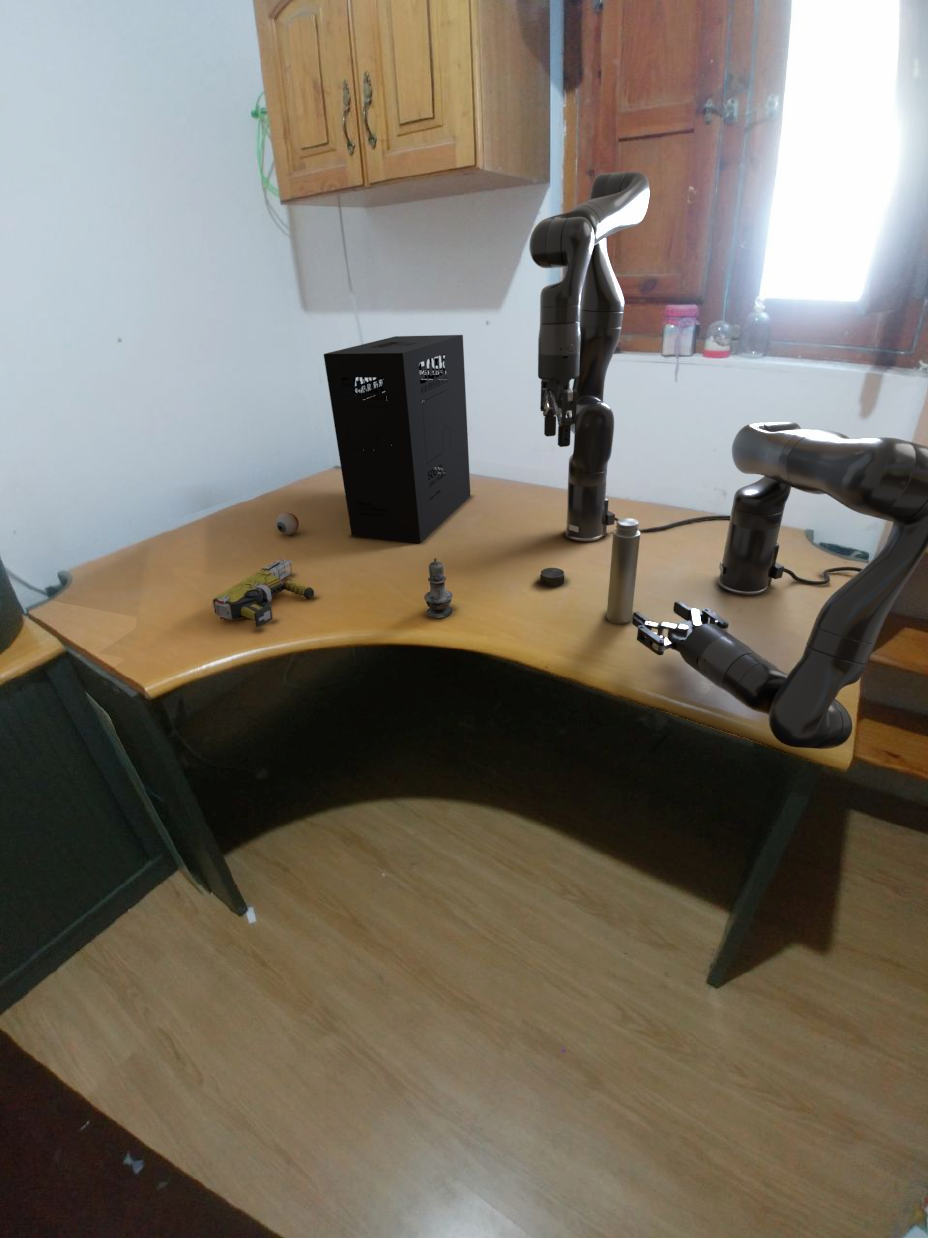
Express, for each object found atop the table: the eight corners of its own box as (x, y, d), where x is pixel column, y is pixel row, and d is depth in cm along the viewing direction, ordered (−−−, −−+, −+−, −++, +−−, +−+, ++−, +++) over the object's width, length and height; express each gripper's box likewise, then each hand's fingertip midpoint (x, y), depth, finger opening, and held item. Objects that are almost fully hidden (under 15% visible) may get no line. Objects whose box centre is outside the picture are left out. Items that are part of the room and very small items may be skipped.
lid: (535, 581, 133) (535, 572, 132) (552, 574, 136) (553, 565, 134) (551, 589, 129) (551, 580, 128) (569, 582, 132) (569, 573, 131)
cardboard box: (410, 491, 192) (395, 336, 169) (470, 495, 185) (462, 334, 162) (351, 535, 161) (323, 353, 139) (420, 542, 155) (402, 352, 132)
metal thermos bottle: (608, 610, 120) (616, 516, 110) (633, 613, 119) (643, 518, 109) (604, 621, 117) (611, 525, 107) (629, 625, 115) (639, 527, 105)
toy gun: (334, 567, 137) (277, 555, 141) (271, 613, 117) (207, 598, 121) (335, 586, 139) (279, 574, 143) (273, 634, 119) (211, 619, 123)
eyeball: (273, 537, 164) (268, 516, 161) (287, 528, 169) (282, 508, 166) (291, 539, 161) (286, 518, 158) (305, 530, 166) (301, 510, 163)
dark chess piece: (450, 619, 120) (446, 564, 114) (422, 617, 121) (416, 563, 115) (456, 605, 125) (453, 552, 119) (429, 603, 126) (424, 551, 120)
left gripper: (528, 347, 115) (528, 434, 123) (551, 356, 102) (549, 451, 110) (566, 344, 116) (563, 431, 124) (593, 352, 103) (588, 447, 112)
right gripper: (762, 626, 93) (691, 583, 106) (685, 648, 88) (622, 601, 102) (752, 666, 96) (685, 620, 110) (679, 689, 92) (618, 638, 105)
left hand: (556, 440), depth 117 cm, fingers open, 8 cm apart
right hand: (655, 611), depth 106 cm, fingers open, 8 cm apart
